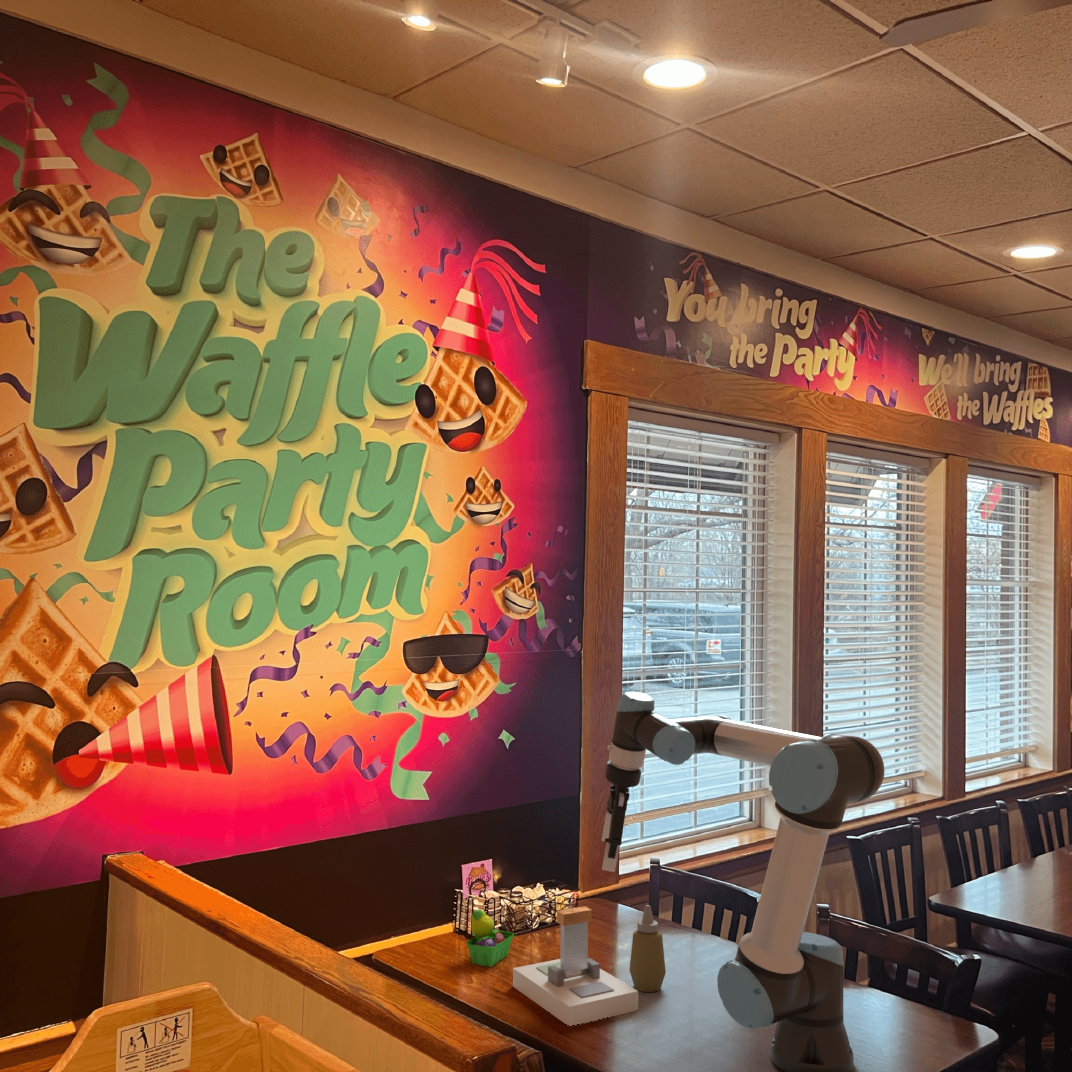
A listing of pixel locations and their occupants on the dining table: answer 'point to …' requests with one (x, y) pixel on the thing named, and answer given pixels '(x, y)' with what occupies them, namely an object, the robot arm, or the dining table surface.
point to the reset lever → (574, 941)
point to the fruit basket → (487, 941)
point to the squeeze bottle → (647, 955)
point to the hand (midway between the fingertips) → (607, 855)
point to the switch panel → (575, 992)
